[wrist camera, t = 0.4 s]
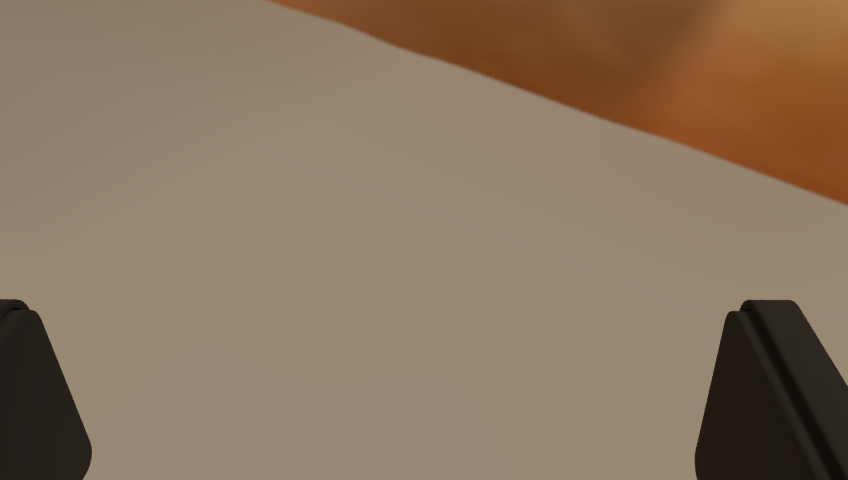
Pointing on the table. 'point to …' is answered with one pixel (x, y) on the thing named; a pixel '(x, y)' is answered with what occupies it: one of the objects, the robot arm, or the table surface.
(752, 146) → the table surface
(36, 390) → the robot arm
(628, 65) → the table surface
